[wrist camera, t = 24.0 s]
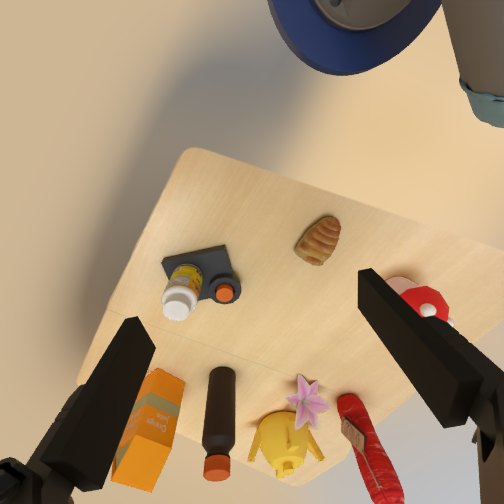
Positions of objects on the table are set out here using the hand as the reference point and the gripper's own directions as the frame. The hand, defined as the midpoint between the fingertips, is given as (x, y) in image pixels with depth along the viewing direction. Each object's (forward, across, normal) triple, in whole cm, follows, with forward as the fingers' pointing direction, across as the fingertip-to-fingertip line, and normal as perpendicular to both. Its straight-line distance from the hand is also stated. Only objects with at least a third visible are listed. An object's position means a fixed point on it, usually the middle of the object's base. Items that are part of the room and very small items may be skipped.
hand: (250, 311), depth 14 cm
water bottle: (+29, +16, -64) cm, 72 cm away
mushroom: (+29, +28, -27) cm, 48 cm away
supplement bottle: (+27, -13, -12) cm, 32 cm away
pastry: (+29, +12, -11) cm, 33 cm away
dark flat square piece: (+29, -11, -13) cm, 33 cm away
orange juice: (+29, -31, -43) cm, 60 cm away
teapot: (+29, -4, -72) cm, 78 cm away
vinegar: (+29, -15, -44) cm, 55 cm away
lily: (+29, +5, -55) cm, 62 cm away
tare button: (+26, -7, -16) cm, 31 cm away
